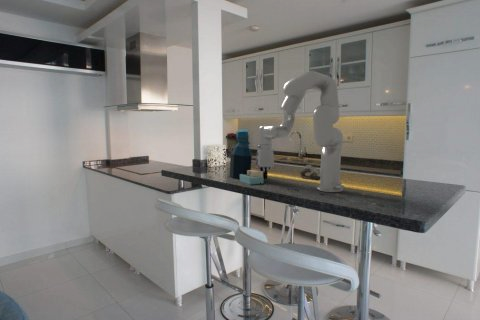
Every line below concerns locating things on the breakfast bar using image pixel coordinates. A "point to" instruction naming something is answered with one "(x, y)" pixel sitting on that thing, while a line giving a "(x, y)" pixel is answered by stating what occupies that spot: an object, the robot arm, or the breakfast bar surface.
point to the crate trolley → (254, 173)
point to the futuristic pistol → (314, 173)
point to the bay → (251, 179)
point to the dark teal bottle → (240, 155)
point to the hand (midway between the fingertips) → (264, 178)
